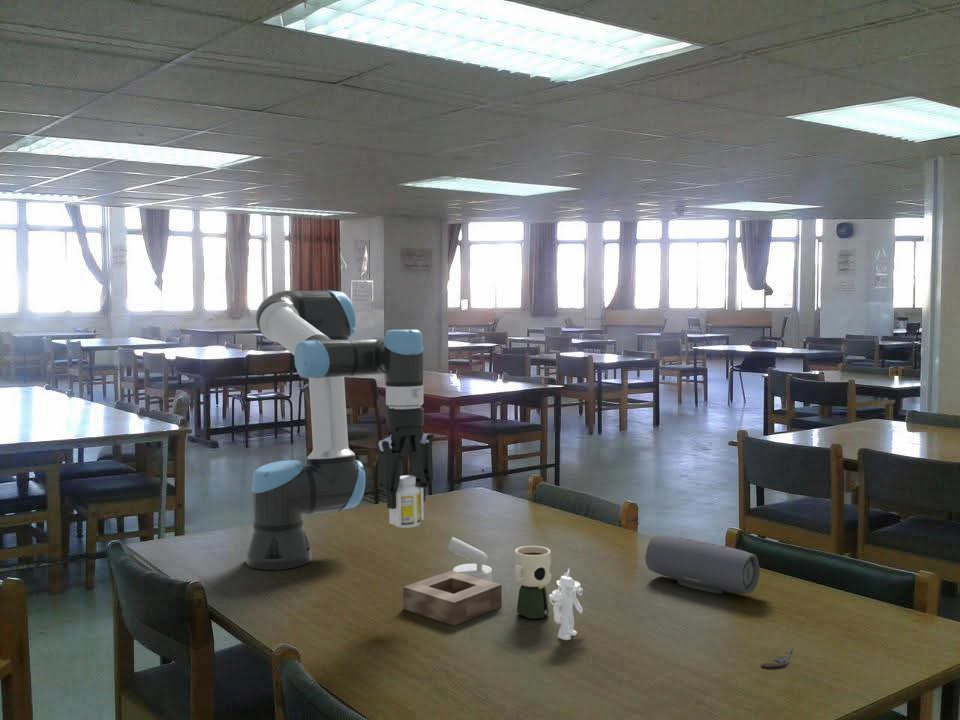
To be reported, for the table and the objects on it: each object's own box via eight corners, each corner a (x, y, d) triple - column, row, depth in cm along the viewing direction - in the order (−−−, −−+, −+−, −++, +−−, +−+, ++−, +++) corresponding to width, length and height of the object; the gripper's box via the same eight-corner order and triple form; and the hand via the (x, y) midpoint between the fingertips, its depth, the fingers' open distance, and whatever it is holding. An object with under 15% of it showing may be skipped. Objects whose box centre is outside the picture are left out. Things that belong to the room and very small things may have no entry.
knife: (784, 673, 143) (784, 669, 143) (759, 669, 145) (759, 665, 145) (797, 646, 156) (797, 642, 156) (774, 642, 158) (774, 638, 158)
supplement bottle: (409, 520, 178) (408, 473, 178) (425, 525, 174) (425, 476, 174) (387, 525, 175) (387, 477, 174) (404, 530, 171) (403, 480, 170)
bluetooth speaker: (760, 593, 182) (761, 547, 181) (740, 605, 175) (741, 556, 175) (666, 571, 197) (666, 528, 197) (643, 581, 191) (644, 536, 190)
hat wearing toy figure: (570, 625, 164) (570, 563, 164) (588, 630, 162) (588, 567, 161) (544, 640, 157) (544, 575, 156) (562, 645, 155) (562, 580, 154)
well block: (403, 608, 174) (403, 586, 174) (451, 591, 184) (451, 570, 184) (454, 625, 165) (454, 602, 164) (501, 606, 175) (501, 584, 175)
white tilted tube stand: (451, 531, 196) (495, 534, 194) (451, 573, 197) (495, 575, 195) (442, 542, 188) (487, 544, 186) (442, 585, 188) (487, 588, 186)
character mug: (531, 628, 163) (531, 560, 163) (501, 619, 168) (501, 553, 167) (563, 611, 172) (563, 547, 171) (533, 604, 176) (533, 541, 175)
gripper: (382, 412, 164) (384, 533, 165) (450, 403, 177) (452, 515, 179) (356, 409, 169) (359, 527, 170) (425, 401, 182) (427, 510, 184)
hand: (406, 521), depth 174 cm, fingers closed on supplement bottle, 5 cm apart
